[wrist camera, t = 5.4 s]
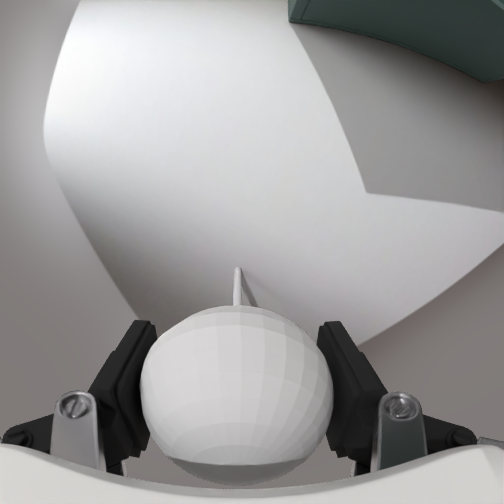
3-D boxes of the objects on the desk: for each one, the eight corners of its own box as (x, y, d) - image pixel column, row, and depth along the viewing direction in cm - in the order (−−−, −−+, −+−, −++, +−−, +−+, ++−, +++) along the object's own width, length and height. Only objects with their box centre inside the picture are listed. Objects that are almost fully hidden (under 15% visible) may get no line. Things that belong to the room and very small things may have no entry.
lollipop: (181, 242, 19) (63, 406, 4) (264, 214, 19) (344, 347, 4) (214, 320, 20) (189, 517, 6) (291, 295, 20) (364, 485, 6)
